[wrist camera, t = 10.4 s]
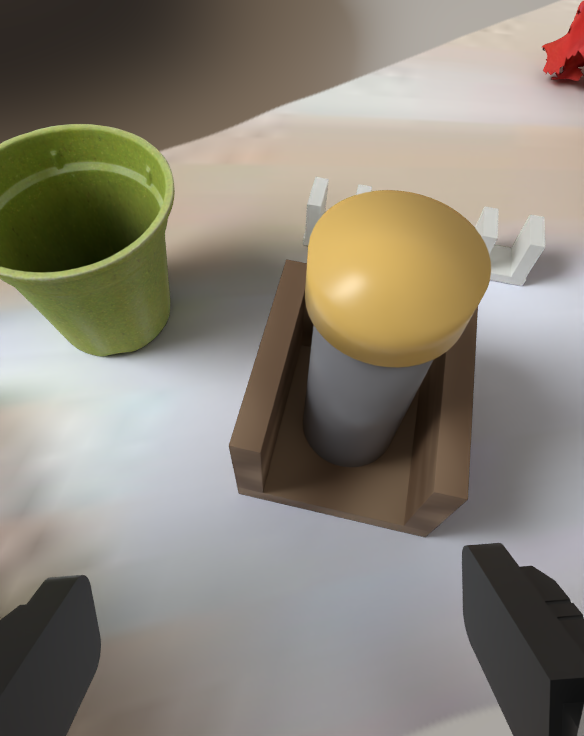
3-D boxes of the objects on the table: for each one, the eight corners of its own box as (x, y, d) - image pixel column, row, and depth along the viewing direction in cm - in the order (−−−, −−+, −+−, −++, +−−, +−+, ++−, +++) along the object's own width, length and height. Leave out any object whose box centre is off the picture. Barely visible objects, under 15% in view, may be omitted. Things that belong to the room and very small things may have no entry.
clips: (302, 244, 32) (305, 203, 29) (310, 218, 34) (313, 176, 31) (522, 286, 31) (547, 247, 28) (522, 257, 32) (546, 217, 29)
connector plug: (284, 462, 24) (290, 307, 14) (306, 368, 27) (326, 177, 16) (394, 486, 24) (488, 346, 13) (406, 388, 26) (493, 206, 16)
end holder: (238, 493, 24) (228, 445, 19) (284, 333, 29) (286, 259, 24) (425, 537, 23) (467, 499, 18) (440, 365, 28) (478, 296, 23)
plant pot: (126, 417, 26) (67, 315, 19) (-7, 335, 28) (-109, 215, 21) (231, 293, 30) (217, 170, 23) (107, 231, 32) (57, 100, 25)
